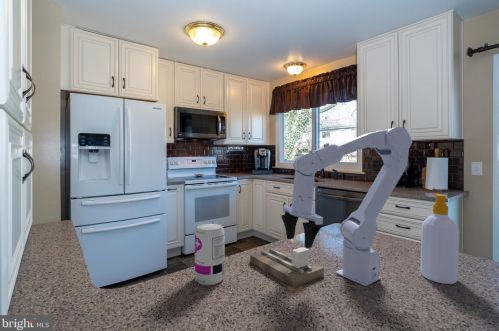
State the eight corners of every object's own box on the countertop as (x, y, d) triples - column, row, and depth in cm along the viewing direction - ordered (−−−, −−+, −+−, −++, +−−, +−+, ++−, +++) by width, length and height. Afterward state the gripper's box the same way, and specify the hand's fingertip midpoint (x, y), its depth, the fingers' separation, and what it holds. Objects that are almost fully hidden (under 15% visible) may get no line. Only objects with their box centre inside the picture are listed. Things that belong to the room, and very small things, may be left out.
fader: (309, 267, 74) (309, 249, 74) (298, 271, 72) (299, 252, 71) (301, 263, 77) (302, 246, 76) (291, 267, 74) (291, 249, 74)
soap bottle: (447, 271, 78) (450, 193, 77) (463, 286, 69) (467, 198, 68) (415, 268, 80) (417, 191, 80) (426, 282, 71) (429, 196, 71)
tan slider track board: (323, 276, 75) (323, 265, 75) (293, 288, 68) (294, 276, 68) (277, 254, 91) (277, 245, 91) (250, 262, 84) (250, 252, 84)
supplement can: (196, 288, 68) (195, 231, 67) (194, 274, 75) (193, 223, 75) (226, 284, 70) (226, 229, 69) (221, 271, 78) (221, 221, 77)
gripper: (276, 192, 78) (272, 236, 79) (310, 201, 66) (306, 253, 66) (294, 192, 82) (290, 234, 82) (330, 200, 69) (325, 250, 70)
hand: (298, 242), depth 75 cm, fingers open, 7 cm apart
